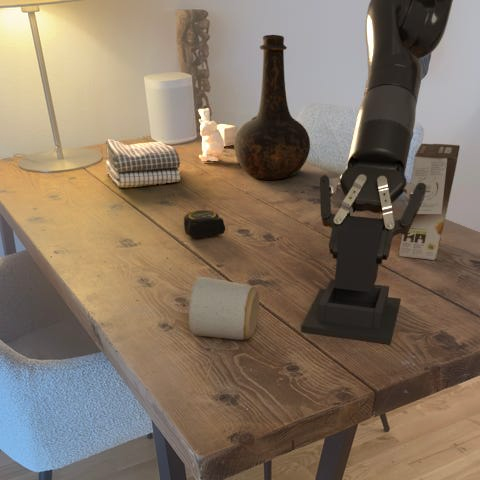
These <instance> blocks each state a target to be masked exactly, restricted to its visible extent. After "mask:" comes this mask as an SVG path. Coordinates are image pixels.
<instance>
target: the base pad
mask: <svg viewBox="0 0 480 480" xmlns="http://www.w3.org/2000/svg"><path fill="white" fill-rule="evenodd" d="M334 283H335V279H332V278H330V280H329V281H328V284H327V286H326V288H319V290H318V292H317V293H316V296H315V298H314V300H313V301H312V304H311V306H310V308H309V310H308V312H307V314H306V317H305V318H304V320H303V322H302V323H301V324H302V325H301V329H300V331H301V333H305V334H313V335H320V336H326V337H334V338H341V339H346V340H347V339H349V340H355V341H361V342H368V343H376V344H381V345H382V344H383V345H387V346H388V345H389V346H391V344H392V339H393V336H394V331H395V327H396V323H397V318H398V315H399V310H400V306H401V301H402V298H399V297H392V296H391V297H390V296H389V291H390V286H389V285H381V284H376V283H375V284H374V287H373V290H372V293H370V292H362V291H354V290H346V289H338V288H334Z"/></svg>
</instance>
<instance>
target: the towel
mask: <svg viewBox="0 0 480 480" xmlns="http://www.w3.org/2000/svg"><path fill="white" fill-rule="evenodd" d="M105 145H106V150H107V151H106V154H107V160H106V161H105V165H106V166H105V172H106V174H107V173H108V174H109V175H108V174H107V175H108V176H109V177H110V178H111V181H112V182H113V183H114V184H115V185H116V186H117V187H118V188H124V189H126V188H137V187H140V188H141V187H147V186H155V185H157V184H159V185H165V184H166V183H169V184H171V183H172V184H173V182H174V183H178V182H181V180H182V179H181V171H180V169H179V168H180V166H181V160H180V157H179V156H180V155H179V153H178V152H177V150H176V148H175V147H174V146H171V145H168V144H166V143H165V142H164V141H149V142H148V141H147V142H141V143H139V142H137V143H132V144H126V143H124V142H121V141H119V140H115V139H112V138H108V139H107V140H106V141H105Z"/></svg>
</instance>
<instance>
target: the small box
mask: <svg viewBox="0 0 480 480" xmlns="http://www.w3.org/2000/svg"><path fill="white" fill-rule="evenodd" d="M217 129H218V130H219V131H220V134H221V136H222V138H223V140H224V146H227V145H230V144H234V143H235V138H236V135H237V133H238V126H237V125H232V124H226V123H219V124H217Z"/></svg>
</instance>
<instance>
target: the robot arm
mask: <svg viewBox="0 0 480 480" xmlns="http://www.w3.org/2000/svg"><path fill="white" fill-rule="evenodd" d="M453 2H454V0H370V1H369V3H368V7H367V11H366V17H365V25H364V27H365V29H364V31H365V44H366V55H367V76H366V82H365V87H364V91H363V97H362V101H361V104H360V107H359V109H358V112H357V117H356V120H355V126H354V130H353V134H352V139H351V144H350V150H349V152H348V153H349V154H348V159H347V162H346V163H347V164H346V167H345V170H344V171H343V172H342V174H341V175H340V176H339V177H331V178H330V177H329V175H326V174H325V175H324V174H323V175H322V176H320V177H319V198H320V199H319V202H320V204H319V205H320V219H321V223H322V225H323V226H324V227H325V228H327V227H328V228H330V229H331V233H330V238H329V243H328V249H329V254H331V255H332V259H335V260H337V253H338V243H339V232H340V228H341V226H342V224H343V222H344V220H345V218H346V217H347V216H355V214H356V213H357V212H362V213H363V212H367V211H368V212H371V213H374V214H380V219H383V220H384V230H382V234H381V239H380V244H379V248H378V253H377V264H379V265H382V264H383V261H387V260H388V259H389V257H390V251H391V247H392V242H393V238H394V237H395V236H396V235H400V234H401V235H402V234H403V235H405V234H407V233H408V232H409V230H410V228H411V225H412V223H413V221H414V219H415V217H416V215H417V213H418V210H419V208H420V206H421V204H422V202H423V200H424V197H425V191H426V185H425V184H424V183H419V184H417V185H414V184H411V182H408V181H407V178H406V175H405V173H406V169H407V163H408V158H409V154H410V153H409V152H410V149H411V143H412V141H413V139H414V138H413V137H414V129H415V124H416V113H417V104H418V99H419V94H420V89H421V84H422V78H423V65H422V62H421V60H423V59H424V58H426V57H428V56H430V55H431V54H432V53H433V52H434V51H435V50H436V49H437V48H438V46H439V45H440V43H441V41H442V39H443V37H444V34H445V33H446V32H445V31H446V29H447V26H448V22H449V18H450V14H451V10H452V6H453ZM339 188H341V190H342V192H343V194H344V196H345V197H344V199H343V201H342V203H341V205H340V208H339V209H338V211H337V212H336V214H334V213H333V212H332V200H331V199H332V198H333V197H334V196H336V194H337V190H338V189H339ZM403 194H405V195H406V197H405V201H406V203H408V205H407V204H406V208H405V210H404V212H403V214H402V216H401V218H400V219H396V220H395V217H394V213H393V212H394V211H393V205H392V204H393V203H394V202H395V201H397V199H398V198H400V197H401V196H402V195H403Z"/></svg>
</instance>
